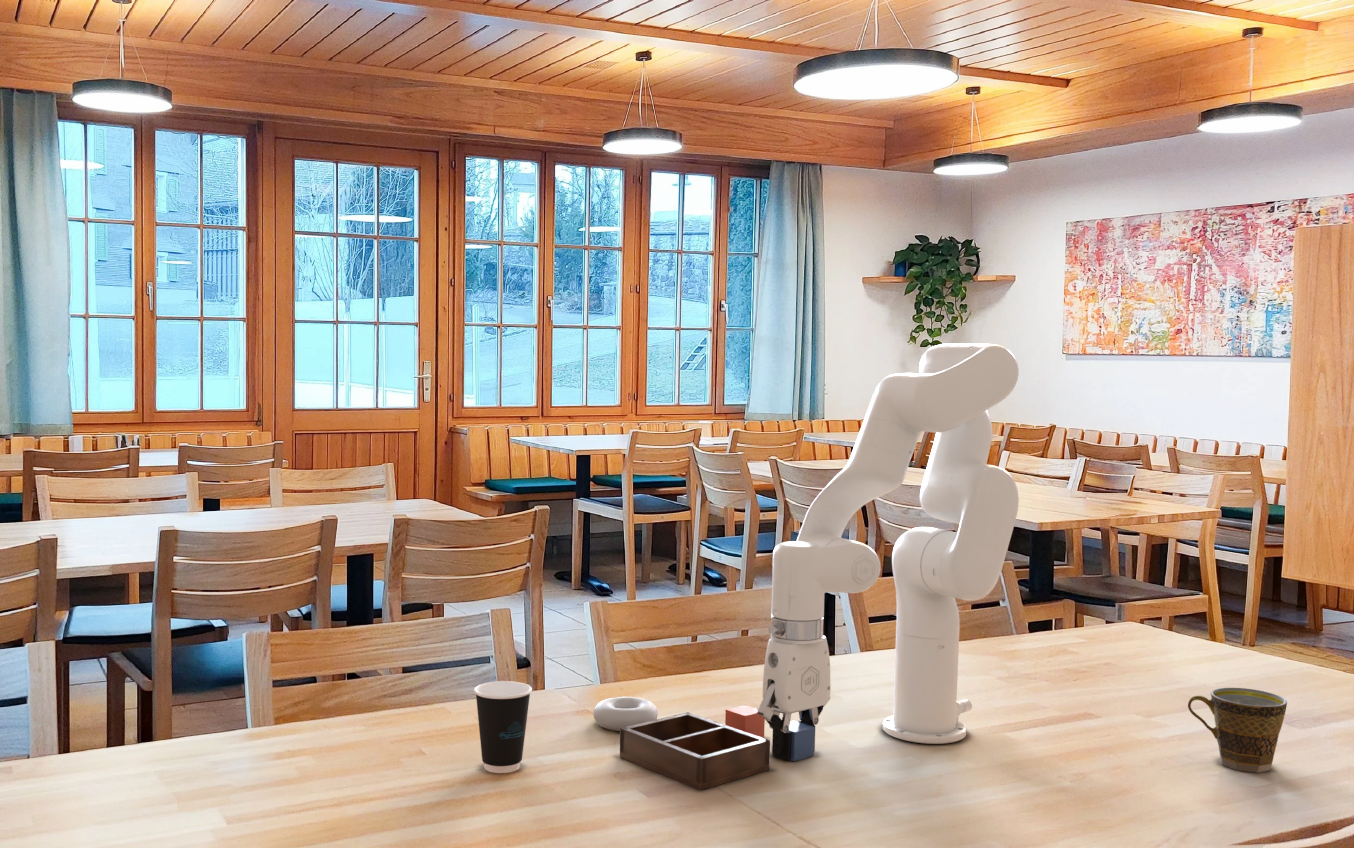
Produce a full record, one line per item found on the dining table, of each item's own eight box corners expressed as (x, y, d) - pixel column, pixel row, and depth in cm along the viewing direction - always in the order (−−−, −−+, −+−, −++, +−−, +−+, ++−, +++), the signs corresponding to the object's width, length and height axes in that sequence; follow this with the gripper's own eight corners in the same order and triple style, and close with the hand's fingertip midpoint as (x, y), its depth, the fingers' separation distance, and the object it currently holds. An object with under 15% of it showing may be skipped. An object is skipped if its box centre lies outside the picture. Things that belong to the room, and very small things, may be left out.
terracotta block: (744, 731, 190) (745, 704, 189) (764, 738, 187) (765, 710, 186) (724, 736, 187) (725, 709, 187) (744, 743, 184) (745, 715, 183)
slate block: (792, 748, 182) (793, 720, 182) (814, 755, 179) (814, 726, 179) (772, 753, 179) (773, 725, 179) (794, 761, 176) (794, 732, 176)
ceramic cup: (1278, 758, 182) (1282, 691, 182) (1288, 780, 173) (1291, 709, 172) (1183, 747, 187) (1186, 682, 186) (1187, 768, 177) (1190, 699, 177)
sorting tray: (687, 739, 185) (688, 711, 185) (769, 769, 172) (770, 740, 172) (619, 757, 176) (620, 727, 176) (700, 790, 164) (701, 758, 164)
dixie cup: (516, 779, 166) (517, 698, 165) (462, 772, 168) (463, 692, 168) (540, 761, 174) (541, 684, 173) (488, 755, 176) (489, 678, 175)
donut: (585, 732, 188) (650, 736, 186) (585, 709, 188) (650, 713, 186) (602, 713, 198) (664, 717, 196) (602, 692, 198) (664, 695, 196)
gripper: (775, 641, 170) (771, 772, 171) (855, 625, 181) (851, 749, 182) (736, 631, 175) (733, 758, 176) (816, 616, 187) (813, 736, 188)
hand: (793, 752), depth 179 cm, fingers closed on slate block, 4 cm apart
